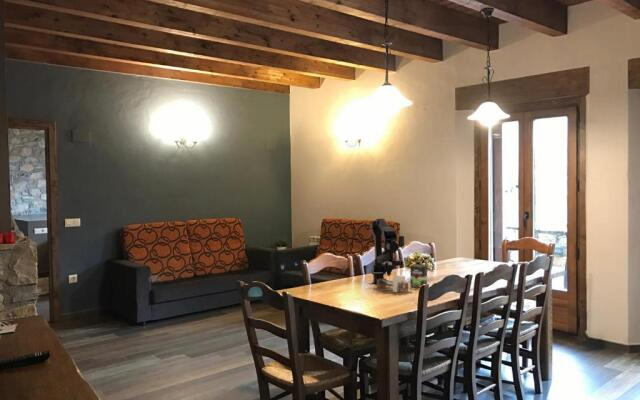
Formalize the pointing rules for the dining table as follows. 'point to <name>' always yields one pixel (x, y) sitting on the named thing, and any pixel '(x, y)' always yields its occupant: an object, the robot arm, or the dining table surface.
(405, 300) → the dining table surface
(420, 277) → the coffee can
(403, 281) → the collar
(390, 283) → the pipe
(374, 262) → the robot arm
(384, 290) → the wall mounted rod holder
